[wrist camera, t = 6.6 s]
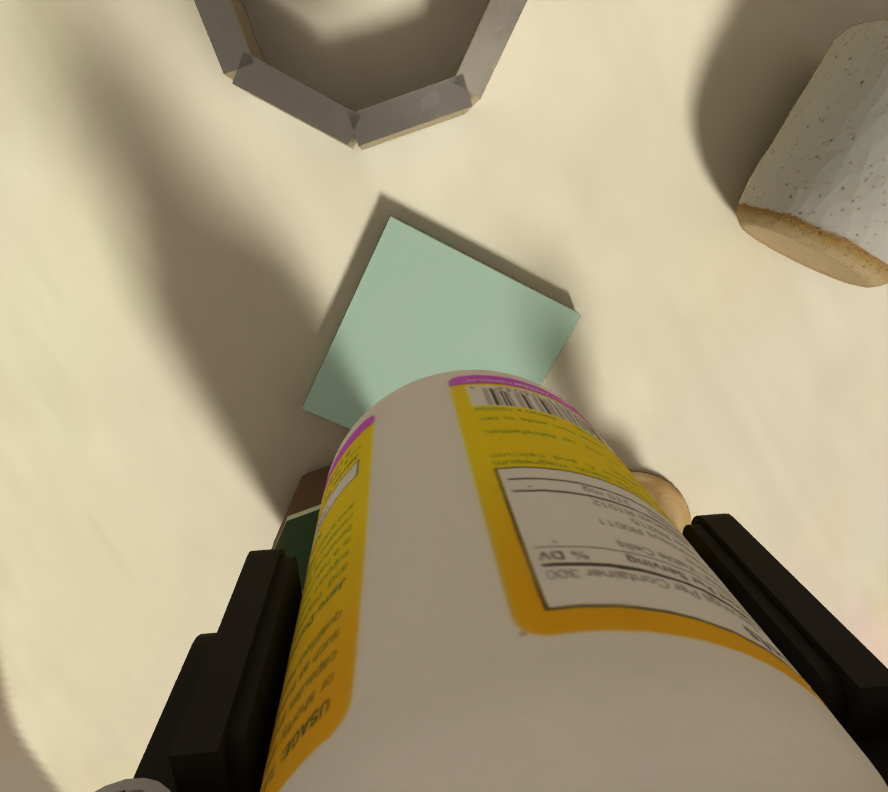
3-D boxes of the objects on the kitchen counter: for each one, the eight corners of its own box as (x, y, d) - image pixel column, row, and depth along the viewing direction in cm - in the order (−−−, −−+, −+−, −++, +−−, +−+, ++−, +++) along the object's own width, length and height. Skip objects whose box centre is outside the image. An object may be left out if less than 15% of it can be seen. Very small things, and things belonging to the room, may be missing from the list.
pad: (390, 215, 28) (390, 216, 27) (575, 310, 30) (581, 315, 29) (304, 401, 30) (302, 408, 29) (480, 476, 32) (482, 485, 31)
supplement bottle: (390, 640, 16) (374, 2107, 4) (279, 422, 14) (-632, 2295, 2) (632, 553, 16) (1466, 1850, 3) (559, 316, 13) (2187, 1629, 1)
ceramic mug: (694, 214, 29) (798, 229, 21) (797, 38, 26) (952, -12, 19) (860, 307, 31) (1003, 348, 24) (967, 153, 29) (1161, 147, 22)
